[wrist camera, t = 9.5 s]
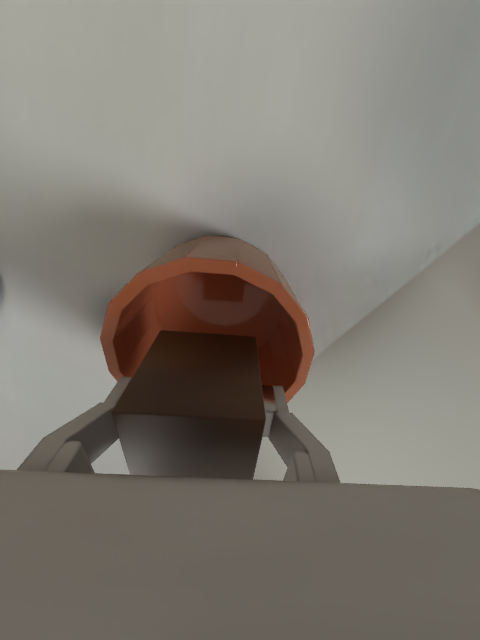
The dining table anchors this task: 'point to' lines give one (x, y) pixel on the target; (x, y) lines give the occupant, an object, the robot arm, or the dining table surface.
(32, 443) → the dining table surface
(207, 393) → the block
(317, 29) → the dining table surface
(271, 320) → the bowl
